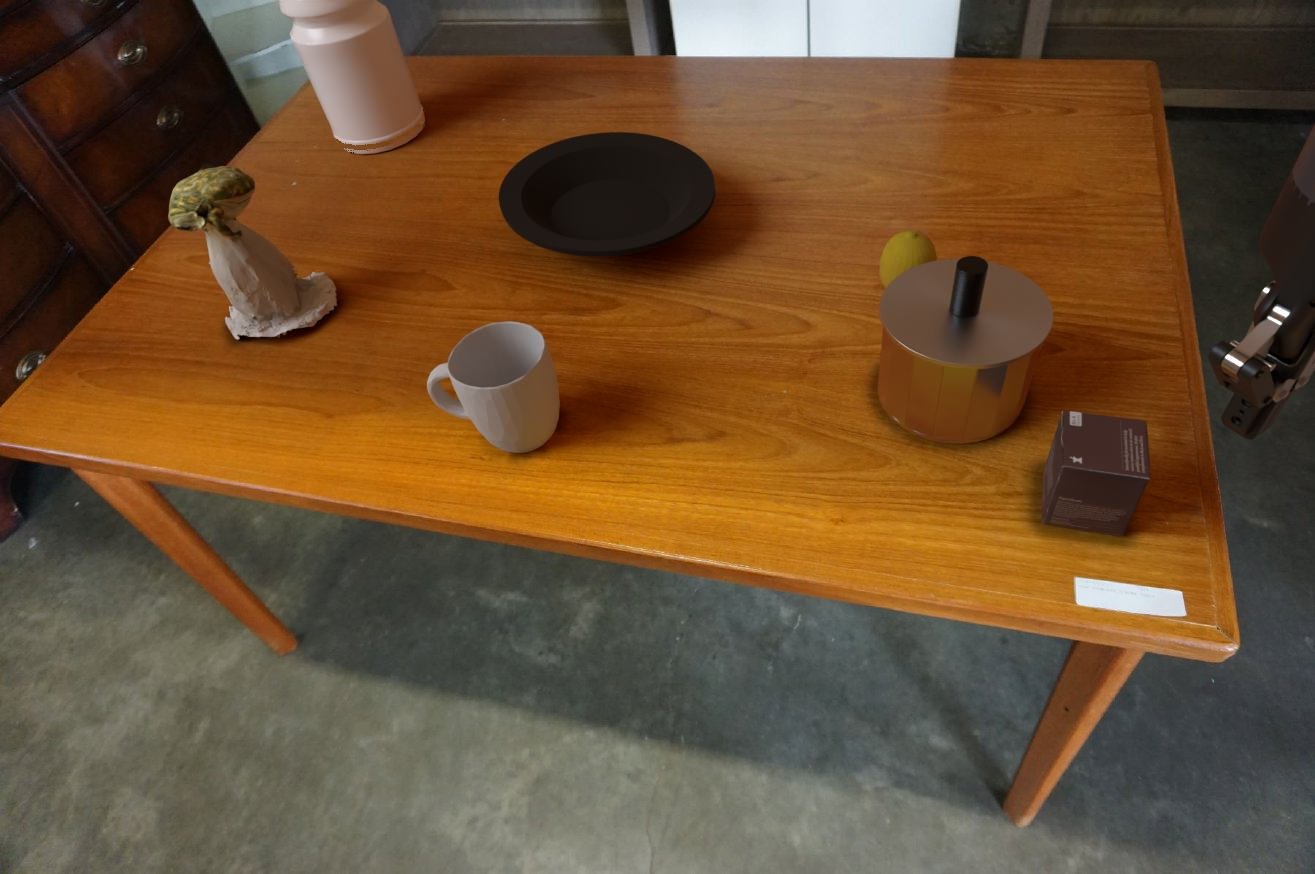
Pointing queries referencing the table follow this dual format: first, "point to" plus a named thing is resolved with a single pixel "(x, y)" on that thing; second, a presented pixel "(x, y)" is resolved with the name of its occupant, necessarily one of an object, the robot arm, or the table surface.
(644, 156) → the plate
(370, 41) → the bottle
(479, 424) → the mug
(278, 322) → the mushroom
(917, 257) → the lemon
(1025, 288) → the pot lid
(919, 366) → the pot
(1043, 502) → the box
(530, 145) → the table surface
